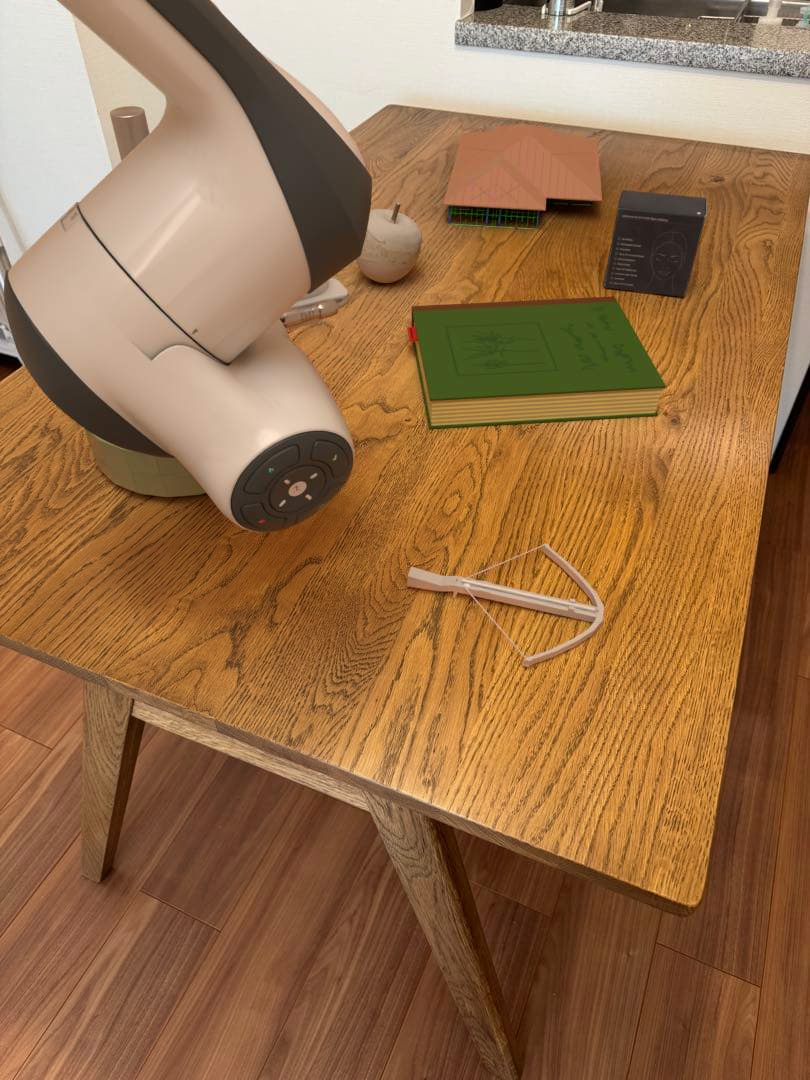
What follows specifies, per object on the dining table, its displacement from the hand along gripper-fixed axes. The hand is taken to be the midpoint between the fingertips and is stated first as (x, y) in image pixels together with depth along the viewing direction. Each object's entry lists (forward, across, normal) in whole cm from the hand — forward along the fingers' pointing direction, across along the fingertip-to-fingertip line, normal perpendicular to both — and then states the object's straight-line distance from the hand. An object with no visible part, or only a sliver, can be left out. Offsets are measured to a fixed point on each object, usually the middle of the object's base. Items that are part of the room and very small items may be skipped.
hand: (158, 254), depth 58 cm
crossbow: (-25, -17, +23) cm, 38 cm away
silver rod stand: (-1, 0, +12) cm, 12 cm away
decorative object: (+30, -33, +23) cm, 50 cm away
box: (+14, -63, +23) cm, 68 cm away
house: (+49, -66, +23) cm, 85 cm away
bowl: (+8, 0, +23) cm, 24 cm away
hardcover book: (+3, -37, +23) cm, 44 cm away
